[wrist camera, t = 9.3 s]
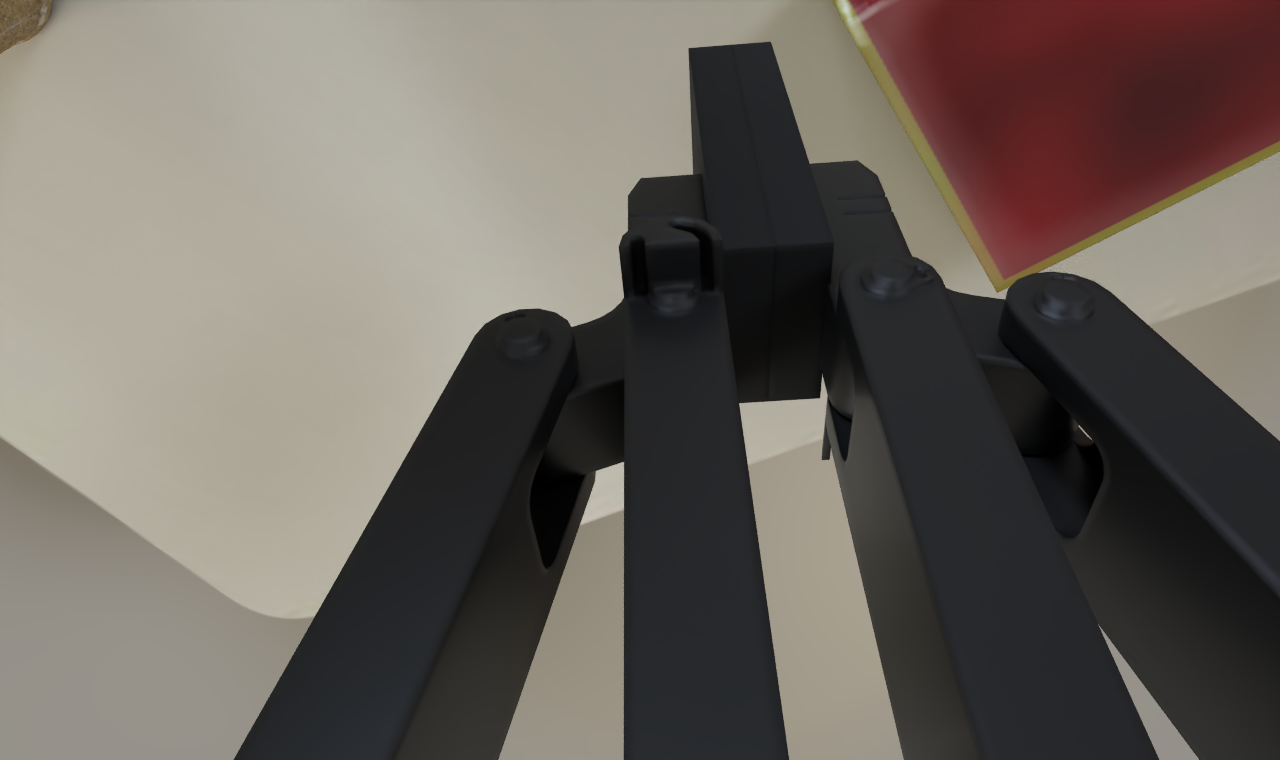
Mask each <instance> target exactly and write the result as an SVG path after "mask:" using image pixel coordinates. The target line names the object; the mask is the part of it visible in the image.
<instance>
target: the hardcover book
mask: <svg viewBox="0 0 1280 760" xmlns="http://www.w3.org/2000/svg"><path fill="white" fill-rule="evenodd" d="M832 1H833V3H834V5H835V7H836V9H837V11H838V13H839V15H840V16H841V18H842V20H843V22H844V24H845V26H846V27H847V29H848V31H849V33H850V34H851V36H852V38H853V40H854V41H855V43H856V45H857V47H858V48H859V50H860V52H861V54H862V55H863V57H864V59H865V61H866V63H867V64H868V66H869V68H870V70H871V71H872V73H873V75H874V77H875V78H876V80H877V82H878V84H879V85H880V87H881V89H882V91H883V92H884V94H885V96H886V98H887V100H888V101H889V103H890V105H891V107H892V108H893V110H894V112H895V114H896V115H897V117H898V119H899V121H900V122H901V124H902V126H903V128H904V129H905V131H906V133H907V135H908V136H909V138H910V140H911V142H912V144H913V145H914V147H915V149H916V151H917V152H918V154H919V156H920V158H921V159H922V161H923V163H924V165H925V166H926V168H927V170H928V172H929V173H930V175H931V177H932V179H933V181H934V182H935V184H936V186H937V188H938V189H939V191H940V193H941V195H942V196H943V198H944V200H945V202H946V203H947V205H948V207H949V209H950V210H951V212H952V214H953V216H954V217H955V219H956V221H957V223H958V225H959V226H960V228H961V230H962V232H963V233H964V235H965V237H966V239H967V240H968V242H969V244H970V246H971V247H972V249H973V251H974V253H975V254H976V256H977V258H978V260H979V262H980V263H981V265H982V267H983V269H984V270H985V272H986V274H987V276H988V277H989V279H990V281H991V283H992V284H993V286H994V288H995V290H996V291H997V293H998V292H1000V291H1002V290H1004V289H1006V288H1008V287H1010V286H1011V285H1012V284H1013V283H1014V282H1015V281H1016V280H1017V279H1020V278H1022V277H1025V276H1027V275H1030V274H1033V273H1038V272H1040V271H1042V270H1044V269H1046V268H1048V267H1050V266H1052V265H1054V264H1056V263H1058V262H1060V261H1062V260H1064V259H1066V258H1068V257H1070V256H1072V255H1074V254H1076V253H1078V252H1080V251H1082V250H1084V249H1086V248H1088V247H1090V246H1092V245H1094V244H1096V243H1098V242H1100V241H1102V240H1104V239H1106V238H1108V237H1110V236H1112V235H1114V234H1116V233H1118V232H1120V231H1122V230H1124V229H1126V228H1128V227H1130V226H1132V225H1134V224H1136V223H1138V222H1140V221H1142V220H1144V219H1146V218H1148V217H1150V216H1152V215H1154V214H1156V213H1158V212H1160V211H1162V210H1164V209H1166V208H1168V207H1170V206H1172V205H1174V204H1176V203H1178V202H1180V201H1182V200H1184V199H1186V198H1188V197H1190V196H1192V195H1194V194H1196V193H1198V192H1200V191H1202V190H1204V189H1206V188H1208V187H1210V186H1212V185H1214V184H1216V183H1218V182H1220V181H1222V180H1224V179H1226V178H1228V177H1230V176H1232V175H1234V174H1236V173H1238V172H1240V171H1242V170H1244V169H1246V168H1248V167H1250V166H1252V165H1254V164H1256V163H1258V162H1260V161H1262V160H1264V159H1266V158H1268V157H1270V156H1272V155H1274V154H1276V153H1278V152H1280V0H832Z"/></svg>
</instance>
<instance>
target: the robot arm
mask: <svg viewBox="0 0 1280 760" xmlns="http://www.w3.org/2000/svg"><path fill="white" fill-rule="evenodd" d="M689 70H690V98H691V125H692V152H693V175H681V176H667V177H654V178H641V179H640V180H639V182H638V183H637V184H636V186H635V187H634V188H633V190H632V191H631V192H630V194H629V195H628V231H627V232H626V233H625V234H624V235H623V237H622V239H621V242H620V245H619V253H620V262H621V271H622V281H623V290H624V298H623V300H622V302H621V303H620V304H619V305H618V306H617V307H616V308H615V309H613V310H612V311H611V312H609V313H607V314H606V315H604V316H602V317H601V318H598V319H596V320H593V321H590V322H588V323H584V324H581V325H577V326H574V327H571V326H570V324H569V322H568V320H566V319H564V318H563V317H561V316H560V315H558V314H557V313H555V312H551V311H546V310H542V309H520V310H516V311H512V312H509V313H505V314H502V315H500V316H498V317H496V318H495V319H493V320H491V321H489V322H488V323H486V324H485V325H484V326H483V327H482V328H481V329H480V330H479V332H478V333H477V334H476V335H475V336H474V338H473V340H472V342H471V343H470V345H469V347H468V349H467V350H466V352H465V354H464V356H463V357H462V359H461V361H460V363H459V364H458V366H457V368H456V370H455V371H454V373H453V375H452V377H451V379H450V380H449V382H448V384H447V386H446V387H445V389H444V391H443V393H442V394H441V396H440V398H439V400H438V401H437V403H436V405H435V407H434V408H433V410H432V412H431V414H430V415H429V417H428V419H427V421H426V422H425V424H424V426H423V428H422V429H421V431H420V433H419V435H418V437H417V438H416V440H415V442H414V444H413V445H412V447H411V449H410V451H409V452H408V454H407V456H406V458H405V459H404V461H403V463H402V465H401V466H400V468H399V470H398V472H397V473H396V475H395V477H394V479H393V480H392V482H391V484H390V486H389V487H388V489H387V491H386V493H385V495H384V496H383V498H382V500H381V502H380V503H379V505H378V507H377V509H376V510H375V512H374V514H373V516H372V517H371V519H370V521H369V523H368V524H367V526H366V528H365V530H364V531H363V533H362V535H361V537H360V538H359V540H358V542H357V544H356V545H355V547H354V549H353V551H352V553H351V554H350V556H349V558H348V560H347V561H346V563H345V565H344V567H343V568H342V570H341V572H340V574H339V575H338V577H337V579H336V581H335V582H334V584H333V586H332V588H331V589H330V591H329V593H328V595H327V596H326V598H325V600H324V602H323V603H322V605H321V607H320V609H319V611H318V612H317V614H316V616H315V618H314V619H313V621H312V623H311V625H310V627H309V628H308V630H307V632H306V633H305V635H304V637H303V639H302V640H301V642H300V644H299V646H298V647H297V649H296V651H295V653H294V655H293V656H292V658H291V660H290V661H289V663H288V665H287V667H286V669H285V670H284V672H283V674H282V676H281V677H280V679H279V681H278V683H277V684H276V686H275V688H274V690H273V691H272V693H271V695H270V697H269V698H268V700H267V702H266V704H265V705H264V707H263V709H262V711H261V712H260V714H259V716H258V718H257V719H256V721H255V723H254V725H253V727H252V728H251V730H250V732H249V734H248V735H247V737H246V739H245V741H244V743H243V744H242V746H241V748H240V750H239V751H238V753H237V755H236V757H235V758H234V760H498V759H499V755H500V753H501V750H502V747H503V744H504V741H505V738H506V735H507V733H508V730H509V727H510V724H511V721H512V718H513V715H514V712H515V710H516V707H517V704H518V701H519V698H520V695H521V692H522V689H523V687H524V683H525V681H526V678H527V675H528V672H529V669H530V666H531V663H532V661H533V658H534V655H535V652H536V649H537V646H538V643H539V641H540V638H541V635H542V632H543V629H544V626H545V623H546V620H547V618H548V614H549V612H550V609H551V606H552V603H553V600H554V597H555V595H556V591H557V589H558V586H559V583H560V580H561V577H562V574H563V571H564V569H565V566H566V563H567V560H568V557H569V554H570V551H571V548H572V546H573V543H574V540H575V537H576V533H577V531H578V528H579V525H580V523H581V520H582V517H583V514H584V511H585V508H586V505H587V502H588V500H589V497H590V494H591V491H592V488H593V485H594V482H595V474H596V471H597V470H600V469H603V468H606V467H609V466H612V465H615V464H618V463H621V462H624V760H789V756H788V749H787V742H786V734H785V727H784V720H783V713H782V706H781V699H780V692H779V685H778V677H777V670H776V663H775V656H774V649H773V643H772V635H771V628H770V621H769V613H768V606H767V599H766V593H765V585H764V578H763V571H762V564H761V557H760V549H759V542H758V535H757V528H756V521H755V514H754V507H753V500H752V492H751V486H750V478H749V471H748V464H747V457H746V450H745V443H744V435H743V428H742V421H741V414H740V407H739V403H748V402H764V401H781V400H797V399H814V398H820V392H821V381H822V374H823V378H824V382H825V386H826V390H827V394H828V398H827V408H826V418H825V428H824V438H823V448H822V460H829V459H830V450H831V449H832V454H833V458H834V462H835V466H836V470H837V474H838V479H839V484H840V488H841V492H842V496H843V501H844V505H845V509H846V514H847V518H848V522H849V526H850V530H851V535H852V539H853V543H854V548H855V552H856V556H857V560H858V565H859V569H860V573H861V578H862V582H863V586H864V591H865V594H866V598H867V603H868V608H869V612H870V616H871V621H872V625H873V629H874V633H875V638H876V642H877V646H878V651H879V654H880V659H881V663H882V668H883V672H884V676H885V680H886V685H887V689H888V693H889V698H890V702H891V706H892V710H893V714H894V719H895V723H896V728H897V732H898V736H899V741H900V744H901V749H902V753H903V757H904V760H1159V758H1158V756H1157V754H1156V752H1155V749H1154V747H1153V745H1152V743H1151V740H1150V738H1149V736H1148V734H1147V732H1146V729H1145V727H1144V725H1143V723H1142V721H1141V718H1140V716H1139V714H1138V712H1137V710H1136V707H1135V705H1134V703H1133V701H1132V698H1131V696H1130V694H1129V692H1128V690H1127V687H1126V685H1125V683H1124V681H1123V679H1122V676H1121V674H1120V672H1119V670H1118V667H1117V665H1116V663H1115V661H1114V659H1113V657H1112V654H1111V652H1110V650H1109V648H1108V645H1107V643H1106V641H1105V639H1104V637H1103V634H1102V632H1101V630H1100V628H1099V626H1100V627H1101V628H1102V629H1103V631H1104V632H1105V634H1106V635H1107V636H1108V638H1109V639H1110V640H1111V642H1112V643H1113V644H1114V646H1115V647H1116V648H1117V650H1118V651H1119V652H1120V654H1121V655H1122V656H1123V658H1124V659H1125V660H1126V662H1127V663H1128V664H1129V666H1130V667H1131V668H1132V670H1133V671H1134V672H1135V674H1136V675H1137V677H1138V678H1139V679H1140V680H1141V682H1142V683H1143V684H1144V686H1145V687H1146V688H1147V690H1148V691H1149V692H1150V694H1151V695H1152V697H1153V698H1154V699H1155V701H1156V702H1157V703H1158V705H1159V706H1160V707H1161V709H1162V710H1163V711H1164V713H1165V714H1166V715H1167V717H1168V718H1169V719H1170V721H1171V722H1172V724H1173V725H1174V726H1175V727H1176V729H1177V730H1178V732H1179V733H1180V734H1181V736H1182V737H1183V738H1184V739H1185V741H1186V742H1187V744H1188V745H1189V746H1190V748H1191V749H1192V750H1193V752H1194V753H1195V754H1196V756H1197V757H1198V758H1199V760H1280V441H1279V440H1278V439H1276V438H1275V437H1274V436H1273V435H1272V434H1271V433H1270V432H1268V431H1267V430H1266V429H1265V428H1264V427H1263V426H1262V425H1261V424H1259V423H1258V422H1257V421H1256V420H1255V419H1254V418H1253V417H1251V416H1250V415H1249V414H1248V413H1247V412H1246V411H1245V410H1243V409H1242V408H1241V407H1240V406H1239V405H1238V404H1237V403H1236V402H1235V401H1233V400H1232V399H1231V398H1230V397H1229V396H1228V395H1227V394H1225V393H1224V392H1223V391H1222V390H1221V389H1220V388H1219V387H1218V386H1216V385H1215V384H1214V383H1213V382H1212V381H1211V380H1210V379H1209V378H1207V377H1206V376H1205V375H1204V374H1203V373H1202V372H1201V371H1199V370H1198V369H1197V368H1196V367H1195V366H1194V365H1193V364H1192V363H1190V362H1189V361H1188V360H1187V359H1186V358H1185V357H1184V356H1182V355H1181V354H1180V353H1179V352H1178V351H1177V350H1176V349H1174V348H1173V347H1172V346H1171V345H1170V344H1169V343H1168V342H1167V341H1165V340H1164V339H1163V338H1162V337H1161V336H1160V335H1158V333H1156V332H1155V331H1154V330H1153V329H1152V328H1151V327H1150V326H1148V325H1147V324H1146V323H1145V322H1144V321H1143V320H1142V319H1141V318H1139V317H1138V316H1137V315H1136V314H1135V313H1134V312H1133V311H1131V310H1130V309H1129V308H1128V307H1127V306H1126V305H1125V304H1124V303H1122V302H1121V301H1120V300H1119V299H1118V298H1117V297H1116V296H1114V295H1113V294H1112V293H1111V292H1110V291H1108V290H1107V289H1105V288H1104V287H1102V286H1100V285H1099V284H1097V283H1096V282H1094V281H1091V280H1088V279H1086V278H1083V277H1080V276H1077V275H1074V274H1067V273H1058V272H1044V273H1033V274H1030V275H1027V276H1025V277H1022V278H1020V279H1017V280H1016V281H1015V282H1014V283H1013V284H1012V285H1011V287H1010V288H1009V289H1008V291H1007V295H1006V299H1005V300H1004V299H996V298H989V297H982V296H974V295H969V294H964V293H959V292H955V291H952V290H950V289H947V288H946V287H945V285H944V283H943V281H942V279H941V277H940V275H939V274H938V273H937V272H936V271H935V269H934V268H933V267H932V266H931V265H929V264H927V263H925V262H924V261H922V260H920V259H918V258H916V257H912V255H911V253H910V251H909V248H908V246H907V244H906V241H905V239H904V237H903V234H902V232H901V230H900V227H899V225H898V223H897V220H896V218H895V216H894V213H893V212H891V206H890V204H889V202H888V199H887V197H885V192H884V190H883V188H882V185H881V183H880V181H879V178H878V176H877V175H876V174H875V173H873V172H872V171H871V170H869V169H868V168H867V167H865V166H864V165H863V164H861V163H860V162H859V161H844V162H830V163H816V164H809V161H808V158H807V154H806V151H805V148H804V145H803V142H802V139H801V136H800V132H799V129H798V126H797V123H796V120H795V117H794V114H793V110H792V107H791V104H790V101H789V98H788V95H787V92H786V88H785V85H784V82H783V79H782V76H781V73H780V69H779V66H778V63H777V60H776V57H775V54H774V51H773V47H772V44H771V42H763V43H750V44H737V45H724V46H712V47H699V48H689ZM1079 425H1080V426H1081V427H1082V428H1083V430H1084V431H1085V432H1086V433H1087V434H1088V435H1089V436H1090V437H1091V438H1092V440H1093V441H1092V440H1091V439H1090V438H1089V437H1087V436H1086V435H1085V434H1084V433H1083V431H1082V430H1081V429H1080V428H1079V427H1078V426H1079ZM1098 624H1099V626H1098Z"/></svg>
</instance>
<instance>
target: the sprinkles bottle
mask: <svg viewBox="0 0 1280 760" xmlns="http://www.w3.org/2000/svg"><path fill="white" fill-rule="evenodd" d="M51 5H52V0H0V54H1V53H2V52H4V51H5V50H7V49H9V48H10V47H12V46H13V45H15V44H20V43H22V42H25V41H27V40H29V39H31V38H32V37H34V36H35V35H37V34H38V33H39V32H40V31H41V30H42V28H43V27H44V25H45V24H46V22H47V21H48V19H49V17H50V13H51Z"/></svg>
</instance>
